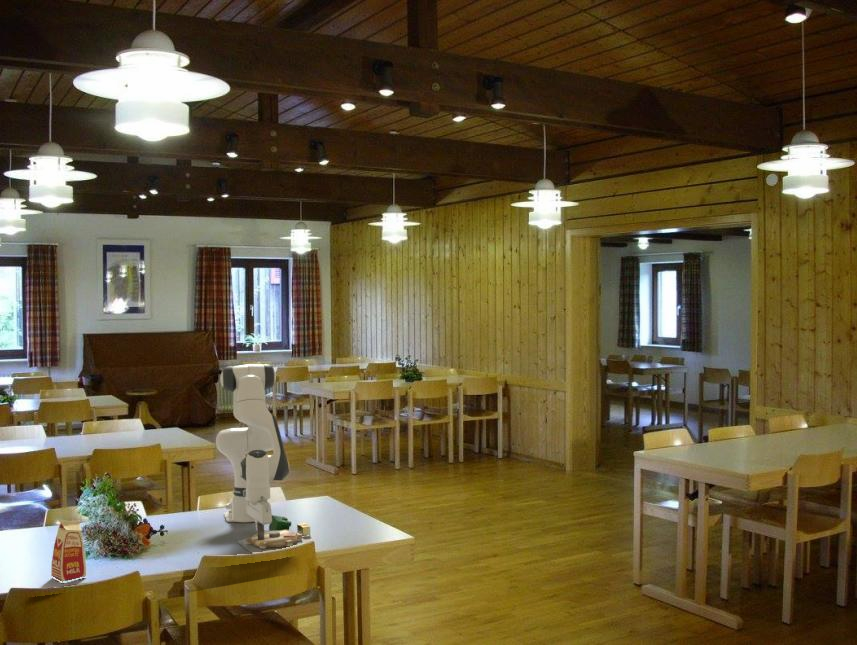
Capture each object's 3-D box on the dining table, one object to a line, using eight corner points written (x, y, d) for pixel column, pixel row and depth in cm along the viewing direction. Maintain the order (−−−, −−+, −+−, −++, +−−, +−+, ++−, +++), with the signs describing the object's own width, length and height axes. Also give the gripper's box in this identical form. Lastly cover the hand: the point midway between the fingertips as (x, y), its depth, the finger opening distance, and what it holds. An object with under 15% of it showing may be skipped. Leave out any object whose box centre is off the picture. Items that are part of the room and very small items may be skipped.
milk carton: (62, 584, 278) (61, 523, 278) (49, 579, 284) (48, 519, 284) (89, 577, 285) (88, 517, 285) (76, 572, 291) (75, 514, 291)
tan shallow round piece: (238, 541, 322) (238, 520, 322) (279, 532, 335) (279, 511, 335) (269, 551, 308) (268, 529, 307) (311, 541, 321) (310, 520, 320)
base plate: (237, 542, 325) (237, 540, 325) (291, 534, 336) (291, 532, 336) (256, 556, 306) (256, 553, 306) (313, 546, 317) (313, 544, 317)
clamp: (286, 544, 338) (292, 525, 335) (271, 542, 335) (278, 523, 333) (282, 526, 348) (289, 508, 346) (268, 524, 346) (274, 506, 343)
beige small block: (297, 534, 337) (297, 523, 336) (304, 533, 338) (304, 522, 338) (303, 537, 331) (302, 527, 331) (310, 536, 333) (310, 525, 333)
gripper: (275, 498, 311) (276, 536, 312) (257, 488, 329) (258, 523, 330) (259, 501, 308) (259, 538, 309) (241, 490, 326) (242, 526, 326)
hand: (258, 531), depth 319 cm, fingers closed
